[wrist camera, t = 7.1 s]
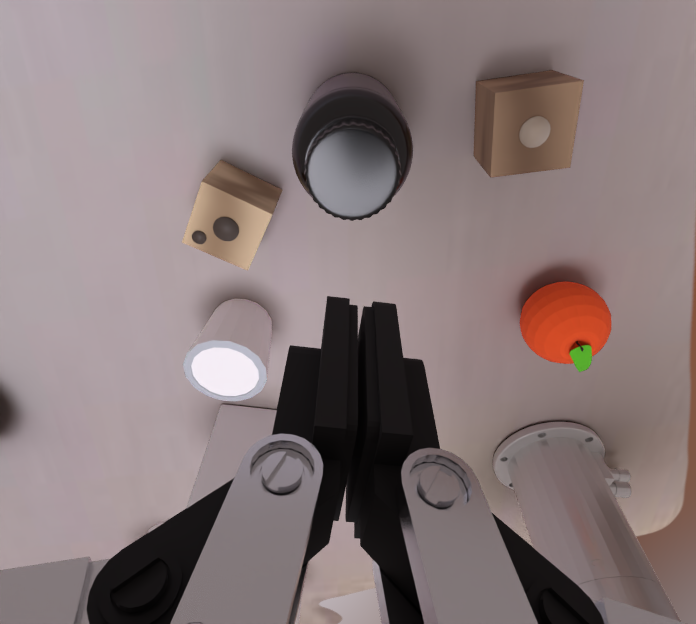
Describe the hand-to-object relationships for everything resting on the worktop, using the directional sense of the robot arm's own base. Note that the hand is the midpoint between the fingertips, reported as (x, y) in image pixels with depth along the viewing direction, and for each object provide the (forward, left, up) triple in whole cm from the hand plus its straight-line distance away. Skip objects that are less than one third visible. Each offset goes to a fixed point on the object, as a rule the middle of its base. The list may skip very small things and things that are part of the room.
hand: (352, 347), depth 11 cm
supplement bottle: (0, 0, -25) cm, 25 cm away
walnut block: (-11, -2, -25) cm, 27 cm away
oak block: (+8, +7, -25) cm, 27 cm away
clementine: (-20, +13, -25) cm, 34 cm away
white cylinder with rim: (+8, +19, -25) cm, 32 cm away
